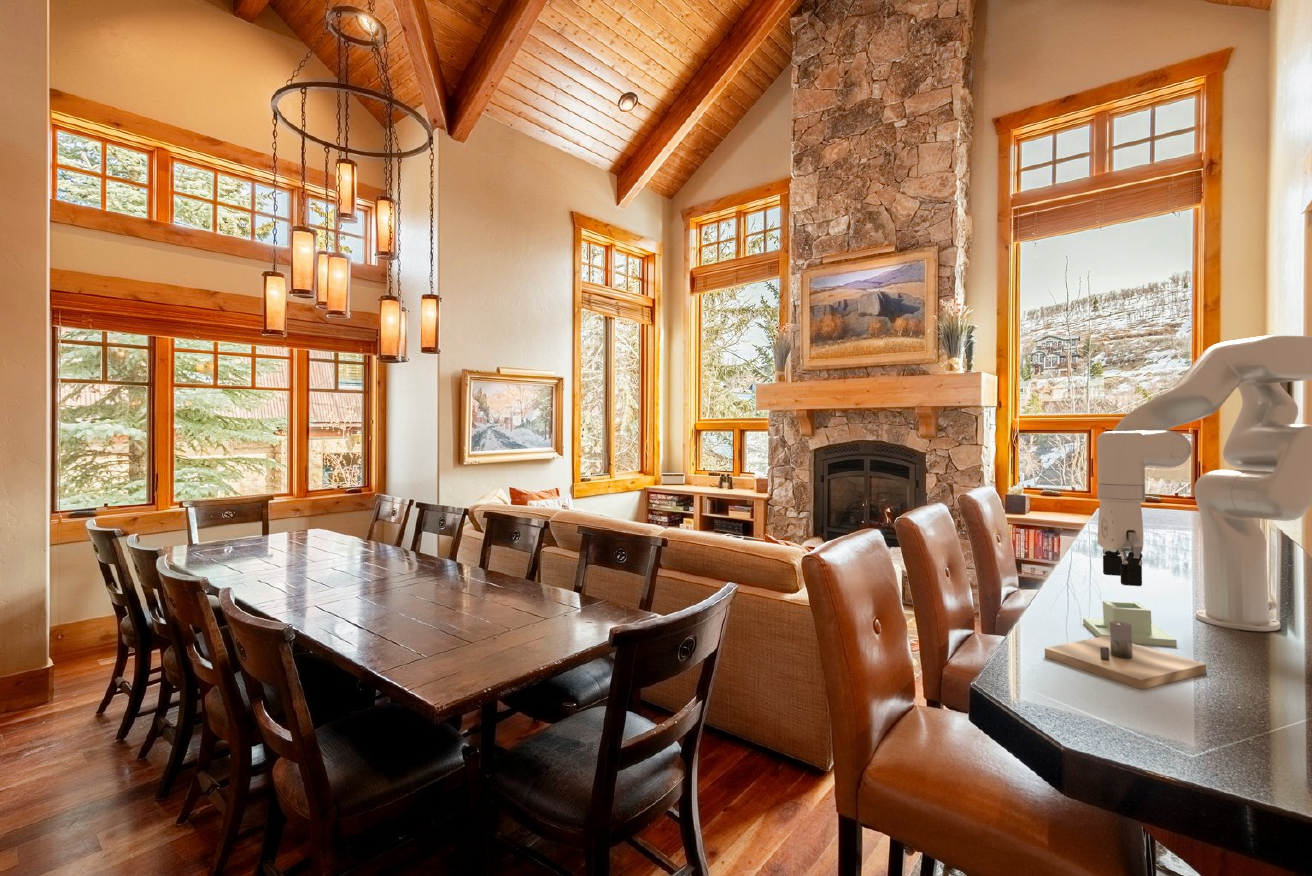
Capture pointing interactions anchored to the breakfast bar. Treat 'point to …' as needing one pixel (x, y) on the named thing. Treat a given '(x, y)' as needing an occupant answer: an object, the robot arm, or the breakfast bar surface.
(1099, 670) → the base
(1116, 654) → the pins
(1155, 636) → the flange
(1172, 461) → the robot arm
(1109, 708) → the breakfast bar surface
